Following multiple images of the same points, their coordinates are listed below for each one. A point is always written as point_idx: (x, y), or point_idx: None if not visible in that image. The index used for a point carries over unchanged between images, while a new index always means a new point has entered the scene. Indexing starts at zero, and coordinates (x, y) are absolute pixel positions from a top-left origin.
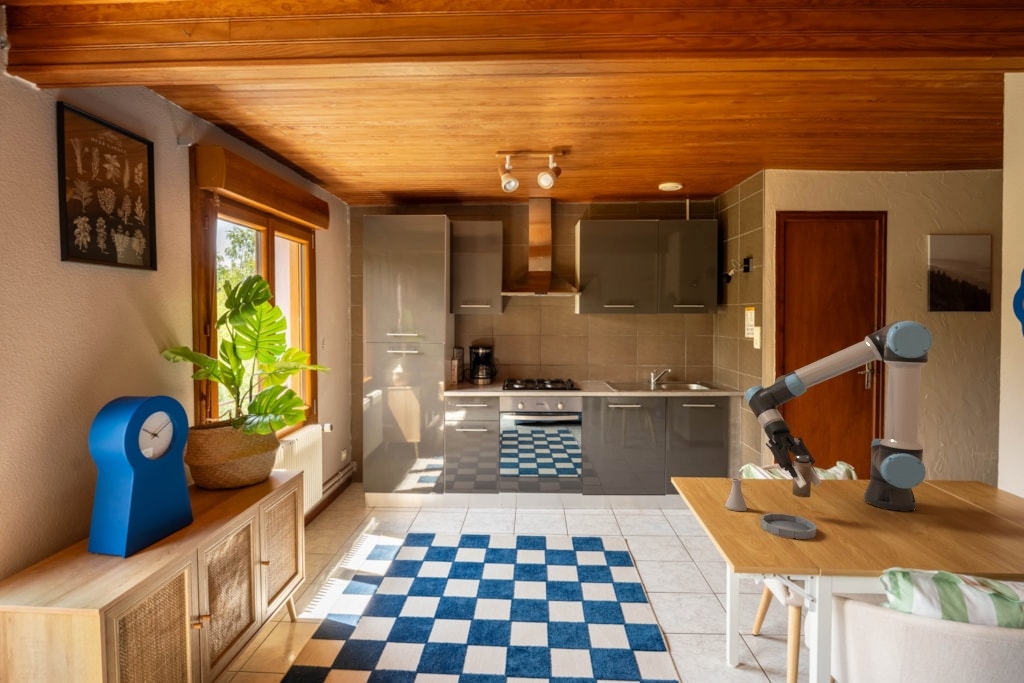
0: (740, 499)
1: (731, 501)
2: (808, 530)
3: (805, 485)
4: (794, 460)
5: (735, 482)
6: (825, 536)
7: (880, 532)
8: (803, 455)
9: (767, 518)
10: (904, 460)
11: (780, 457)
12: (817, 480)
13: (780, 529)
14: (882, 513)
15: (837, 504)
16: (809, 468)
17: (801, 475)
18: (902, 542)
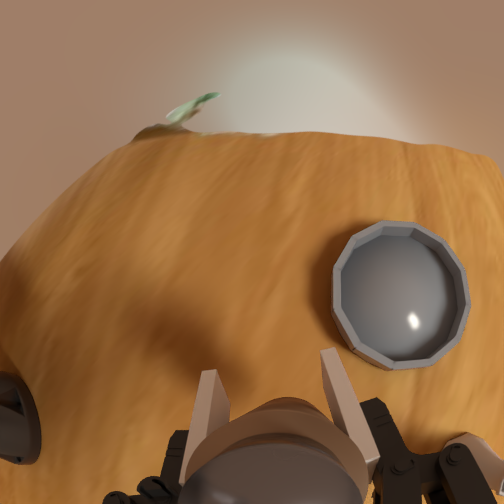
0: (475, 451)
1: (489, 446)
2: (378, 227)
3: (292, 400)
4: None
5: None
6: (318, 252)
7: (147, 276)
8: None
9: (439, 348)
10: None
11: (490, 493)
12: (216, 385)
13: (441, 239)
14: (51, 386)
15: (100, 474)
16: (249, 413)
17: (335, 392)
18: (155, 223)
